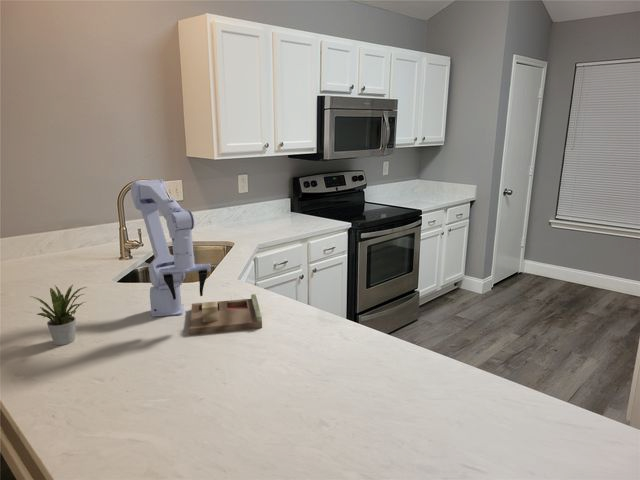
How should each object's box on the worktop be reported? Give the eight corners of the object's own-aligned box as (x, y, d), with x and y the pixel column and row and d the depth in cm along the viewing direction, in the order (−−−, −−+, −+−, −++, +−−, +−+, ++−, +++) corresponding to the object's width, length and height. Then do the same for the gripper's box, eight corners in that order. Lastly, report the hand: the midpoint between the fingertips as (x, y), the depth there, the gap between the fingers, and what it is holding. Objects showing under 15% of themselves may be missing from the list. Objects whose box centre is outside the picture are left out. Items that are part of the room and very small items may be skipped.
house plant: (108, 334, 133) (101, 281, 129) (68, 356, 120) (60, 297, 116) (70, 327, 137) (63, 276, 133) (28, 347, 124) (19, 291, 121)
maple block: (202, 322, 136) (201, 308, 135) (203, 316, 140) (202, 302, 139) (218, 320, 137) (217, 306, 136) (218, 315, 141) (217, 301, 140)
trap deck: (189, 335, 132) (188, 323, 131) (192, 309, 151) (191, 299, 150) (262, 327, 137) (261, 317, 136) (255, 303, 156) (255, 294, 155)
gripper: (156, 257, 127) (162, 304, 130) (209, 252, 131) (213, 297, 134) (157, 253, 134) (162, 297, 136) (208, 247, 138) (212, 291, 140)
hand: (188, 296), depth 135 cm, fingers open, 7 cm apart
